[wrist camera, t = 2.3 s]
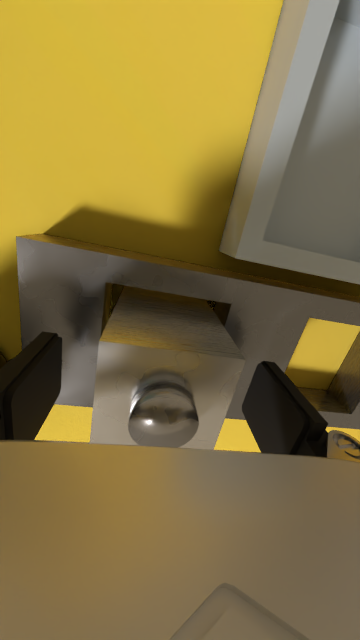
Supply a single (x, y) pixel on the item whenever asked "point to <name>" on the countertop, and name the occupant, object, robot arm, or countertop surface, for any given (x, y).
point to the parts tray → (304, 148)
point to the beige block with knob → (163, 372)
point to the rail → (182, 279)
